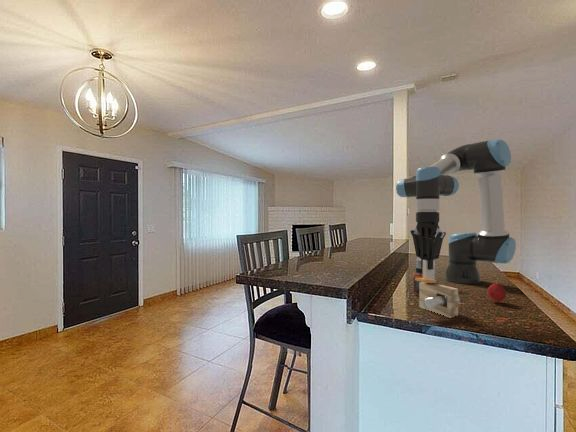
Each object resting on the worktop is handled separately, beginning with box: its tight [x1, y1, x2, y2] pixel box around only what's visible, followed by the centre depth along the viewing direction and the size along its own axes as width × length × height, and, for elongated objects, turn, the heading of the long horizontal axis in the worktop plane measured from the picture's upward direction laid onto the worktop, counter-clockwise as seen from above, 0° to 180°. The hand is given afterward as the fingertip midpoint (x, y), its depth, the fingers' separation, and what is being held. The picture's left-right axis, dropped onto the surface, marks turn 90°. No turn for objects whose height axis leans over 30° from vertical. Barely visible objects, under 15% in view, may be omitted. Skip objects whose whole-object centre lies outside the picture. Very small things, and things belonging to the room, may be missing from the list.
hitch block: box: [418, 282, 459, 319], centre depth 105 cm, size 4×12×9 cm, turn 26°
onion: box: [486, 281, 507, 304], centre depth 113 cm, size 6×6×8 cm
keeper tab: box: [415, 278, 440, 284], centre depth 107 cm, size 8×4×1 cm, turn 116°
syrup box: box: [416, 256, 436, 280], centre depth 141 cm, size 6×6×14 cm
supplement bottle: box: [412, 266, 423, 297], centre depth 125 cm, size 6×6×11 cm
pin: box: [422, 294, 461, 309], centre depth 101 cm, size 13×5×5 cm, turn 116°
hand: (427, 278), depth 107 cm, fingers closed
